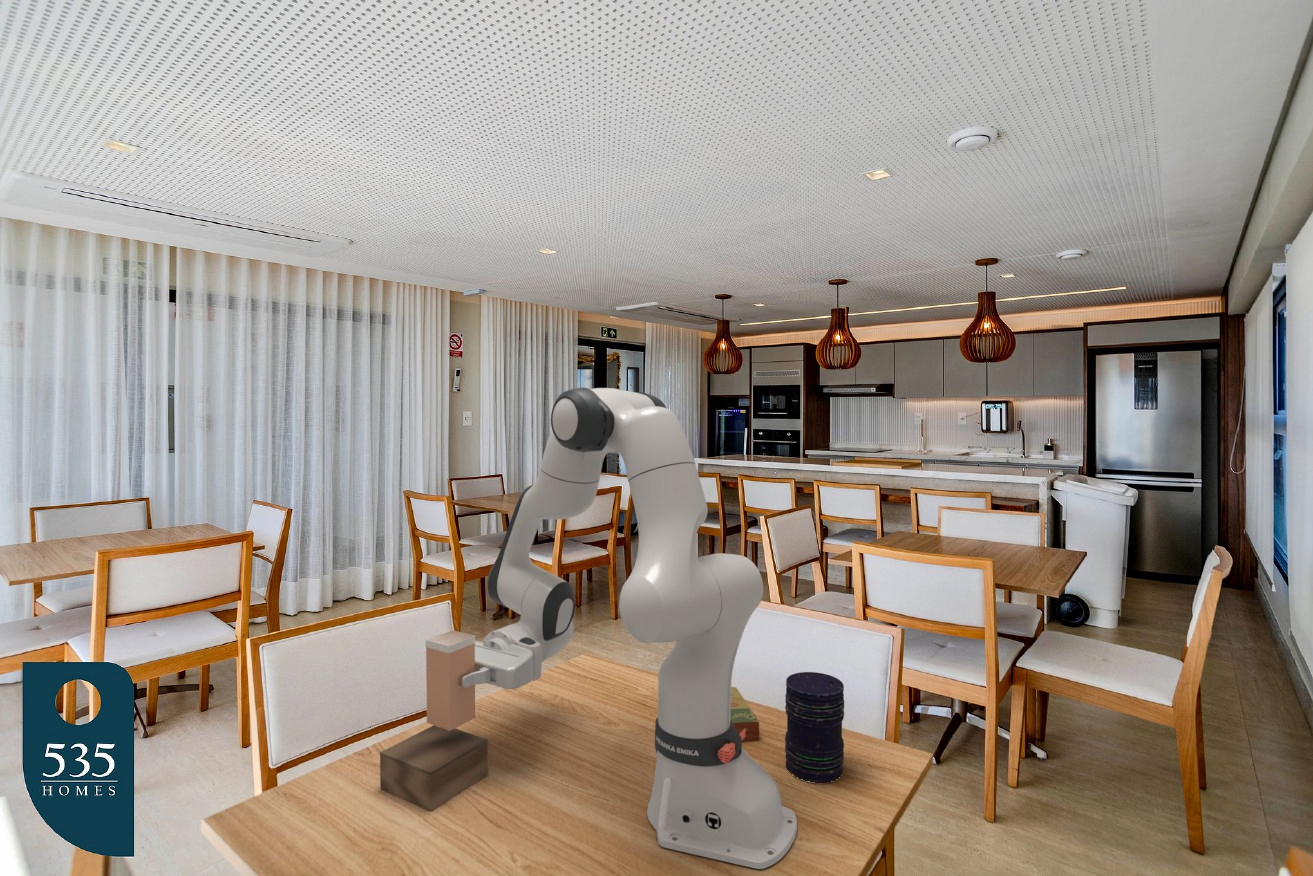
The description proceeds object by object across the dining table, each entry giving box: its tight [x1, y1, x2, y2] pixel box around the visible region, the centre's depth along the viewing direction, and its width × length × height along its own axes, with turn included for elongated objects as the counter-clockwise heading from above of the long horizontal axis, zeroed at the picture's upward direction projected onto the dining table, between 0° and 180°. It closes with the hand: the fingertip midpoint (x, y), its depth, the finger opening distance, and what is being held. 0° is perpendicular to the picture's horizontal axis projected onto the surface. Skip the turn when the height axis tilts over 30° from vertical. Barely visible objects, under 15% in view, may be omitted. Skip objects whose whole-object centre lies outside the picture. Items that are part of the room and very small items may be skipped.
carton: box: [730, 686, 760, 742], centre depth 129 cm, size 8×16×4 cm, turn 9°
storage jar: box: [784, 671, 845, 783], centre depth 112 cm, size 10×10×15 cm
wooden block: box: [379, 725, 489, 812], centre depth 108 cm, size 12×12×6 cm
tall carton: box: [425, 630, 476, 731], centre depth 109 cm, size 6×6×14 cm
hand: (446, 678), depth 109 cm, fingers closed on tall carton, 5 cm apart
